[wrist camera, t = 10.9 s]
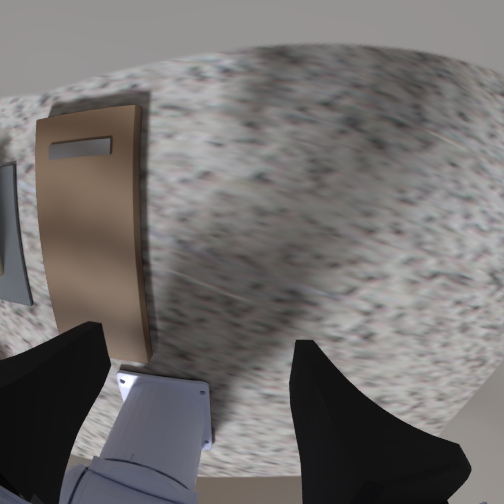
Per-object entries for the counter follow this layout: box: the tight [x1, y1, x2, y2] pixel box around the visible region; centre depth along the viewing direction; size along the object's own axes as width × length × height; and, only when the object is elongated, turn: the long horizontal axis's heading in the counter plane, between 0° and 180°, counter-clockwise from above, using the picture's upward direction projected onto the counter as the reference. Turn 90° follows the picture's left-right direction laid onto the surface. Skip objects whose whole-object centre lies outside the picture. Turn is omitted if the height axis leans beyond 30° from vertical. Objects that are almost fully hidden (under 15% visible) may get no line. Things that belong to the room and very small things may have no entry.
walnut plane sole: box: [35, 105, 152, 364], centre depth 19 cm, size 18×8×1 cm, turn 177°
